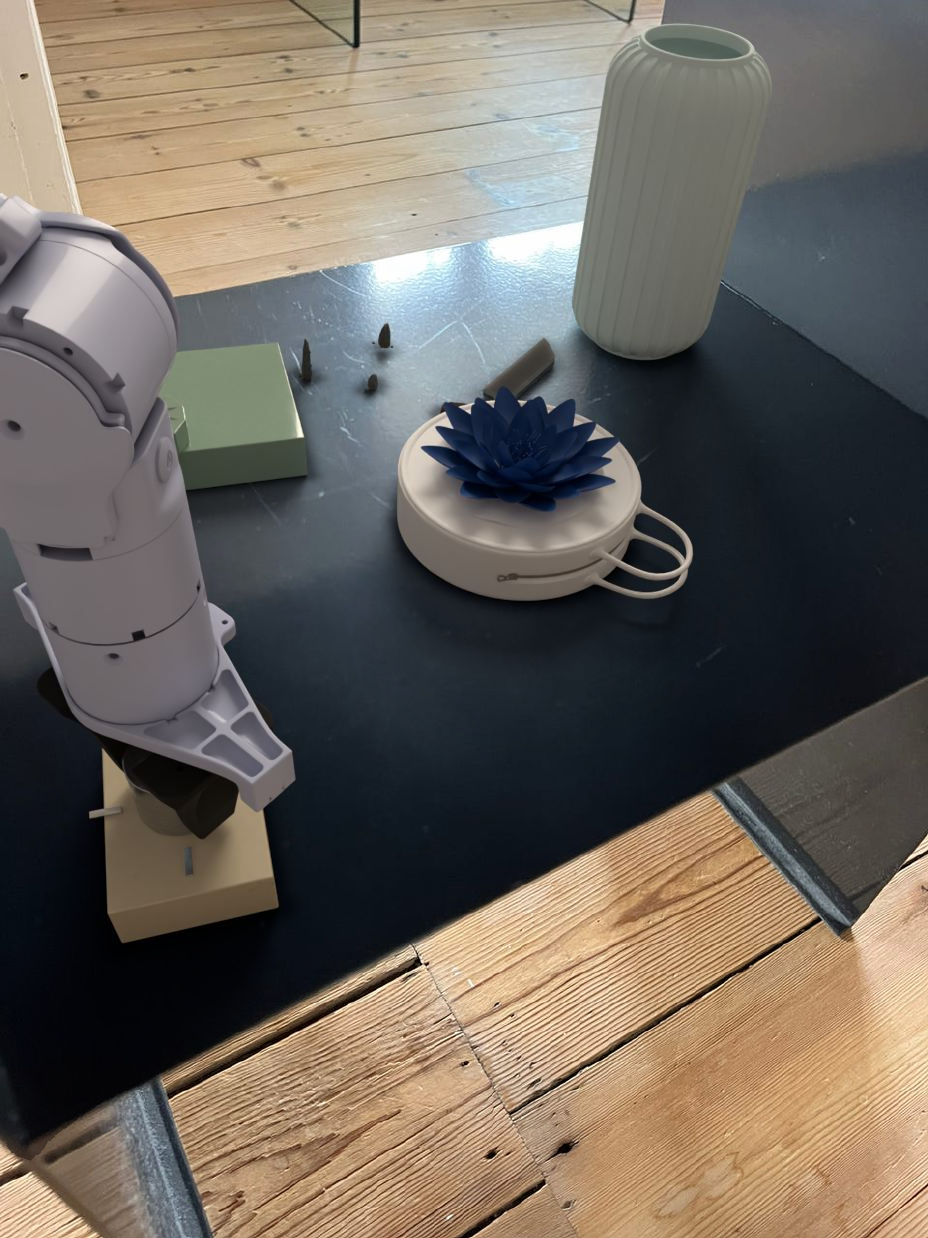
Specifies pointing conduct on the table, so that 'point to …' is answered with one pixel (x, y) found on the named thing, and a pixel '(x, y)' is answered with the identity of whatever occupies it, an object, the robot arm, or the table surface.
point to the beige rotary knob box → (180, 867)
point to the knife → (520, 372)
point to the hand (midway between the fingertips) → (181, 793)
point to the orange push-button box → (234, 416)
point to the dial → (150, 798)
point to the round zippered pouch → (523, 501)
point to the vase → (667, 186)
